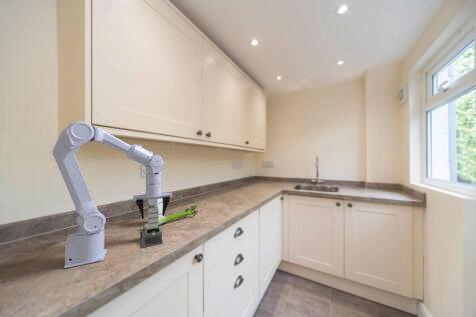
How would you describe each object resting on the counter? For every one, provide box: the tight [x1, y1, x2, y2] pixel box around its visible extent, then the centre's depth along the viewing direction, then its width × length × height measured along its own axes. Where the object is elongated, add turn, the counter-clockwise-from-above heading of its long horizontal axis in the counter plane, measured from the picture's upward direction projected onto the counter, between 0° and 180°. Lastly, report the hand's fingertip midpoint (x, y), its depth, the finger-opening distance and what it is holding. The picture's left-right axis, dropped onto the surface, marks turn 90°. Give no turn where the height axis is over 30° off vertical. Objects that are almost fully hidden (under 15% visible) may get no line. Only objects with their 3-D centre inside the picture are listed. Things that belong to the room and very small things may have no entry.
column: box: [147, 207, 160, 230], centre depth 75 cm, size 4×4×8 cm
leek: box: [142, 205, 199, 229], centre depth 95 cm, size 6×7×30 cm
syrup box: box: [148, 197, 166, 220], centre depth 94 cm, size 6×6×14 cm
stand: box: [141, 226, 164, 249], centre depth 76 cm, size 7×17×4 cm, turn 28°
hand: (153, 216), depth 75 cm, fingers open, 7 cm apart
